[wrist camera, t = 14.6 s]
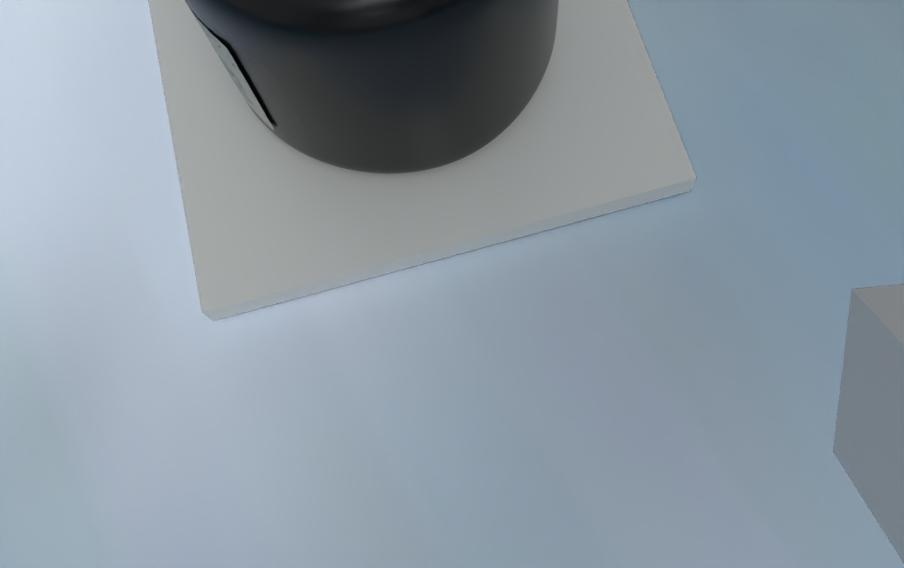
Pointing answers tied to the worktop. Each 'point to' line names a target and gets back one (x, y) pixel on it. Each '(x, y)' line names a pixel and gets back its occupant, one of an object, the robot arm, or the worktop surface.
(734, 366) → the worktop surface
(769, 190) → the worktop surface
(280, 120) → the ink bottle
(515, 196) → the ceramic tile
